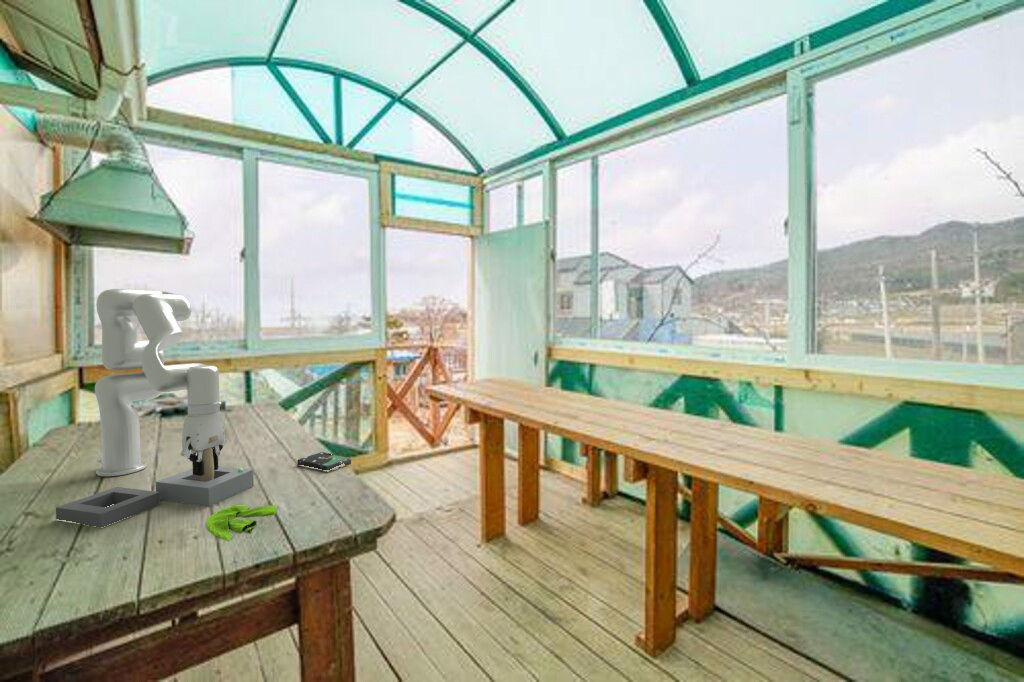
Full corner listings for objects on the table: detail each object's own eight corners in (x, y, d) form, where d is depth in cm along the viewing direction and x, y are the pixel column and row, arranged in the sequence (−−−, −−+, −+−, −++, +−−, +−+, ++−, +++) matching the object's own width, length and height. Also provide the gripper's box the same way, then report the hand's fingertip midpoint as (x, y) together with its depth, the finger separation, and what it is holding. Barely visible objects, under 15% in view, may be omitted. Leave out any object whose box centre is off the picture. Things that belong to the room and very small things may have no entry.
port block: (156, 499, 126) (155, 478, 126) (204, 480, 140) (204, 462, 140) (209, 506, 122) (208, 485, 121) (253, 486, 136) (253, 467, 136)
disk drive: (296, 467, 155) (327, 474, 148) (296, 459, 155) (327, 465, 148) (321, 459, 164) (352, 464, 157) (321, 451, 164) (351, 456, 157)
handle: (222, 486, 132) (221, 435, 131) (197, 493, 127) (195, 440, 126) (215, 482, 135) (214, 432, 134) (190, 489, 130) (188, 437, 129)
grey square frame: (56, 521, 112) (55, 507, 112) (117, 499, 126) (117, 486, 126) (102, 528, 109) (101, 514, 109) (160, 504, 122) (159, 492, 122)
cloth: (228, 505, 124) (228, 496, 124) (308, 507, 123) (307, 498, 123) (170, 542, 104) (169, 532, 103) (264, 544, 103) (264, 534, 103)
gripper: (218, 402, 139) (220, 462, 140) (164, 414, 122) (167, 481, 124) (239, 404, 137) (240, 464, 138) (187, 416, 121) (189, 483, 122)
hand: (205, 471), depth 131 cm, fingers closed on handle, 4 cm apart
